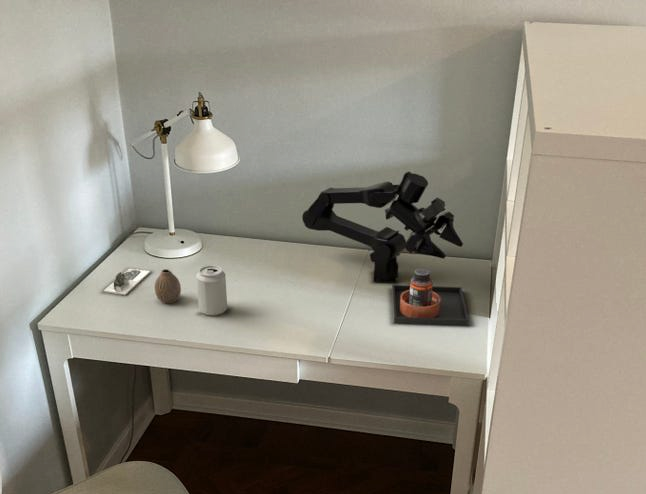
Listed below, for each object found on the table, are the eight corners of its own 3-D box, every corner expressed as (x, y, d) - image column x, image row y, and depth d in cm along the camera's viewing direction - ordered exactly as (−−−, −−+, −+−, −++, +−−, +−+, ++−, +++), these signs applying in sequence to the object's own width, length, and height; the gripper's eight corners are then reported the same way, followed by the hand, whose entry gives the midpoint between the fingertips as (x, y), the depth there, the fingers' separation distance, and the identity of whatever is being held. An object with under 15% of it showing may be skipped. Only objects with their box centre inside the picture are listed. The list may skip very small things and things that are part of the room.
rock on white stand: (125, 295, 218) (123, 280, 215) (103, 292, 219) (101, 277, 217) (150, 272, 230) (148, 258, 228) (129, 269, 231) (127, 255, 229)
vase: (186, 297, 217) (184, 268, 213) (172, 308, 212) (169, 278, 207) (165, 292, 220) (162, 263, 215) (151, 302, 214) (147, 273, 210)
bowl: (400, 320, 209) (401, 306, 207) (398, 301, 218) (399, 288, 216) (440, 321, 208) (442, 307, 206) (437, 302, 217) (439, 289, 215)
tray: (393, 323, 207) (394, 317, 206) (392, 290, 223) (392, 284, 222) (468, 325, 207) (468, 320, 206) (460, 292, 223) (461, 287, 222)
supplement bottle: (430, 305, 215) (434, 267, 209) (430, 315, 210) (434, 277, 204) (408, 304, 216) (411, 266, 210) (408, 314, 211) (411, 275, 205)
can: (232, 306, 213) (230, 266, 207) (219, 319, 207) (217, 277, 201) (207, 301, 215) (204, 261, 209) (194, 314, 209) (190, 273, 203)
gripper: (403, 203, 204) (449, 240, 200) (440, 182, 216) (484, 217, 213) (386, 235, 211) (430, 271, 208) (423, 213, 224) (465, 247, 220)
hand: (453, 251), depth 212 cm, fingers open, 9 cm apart
